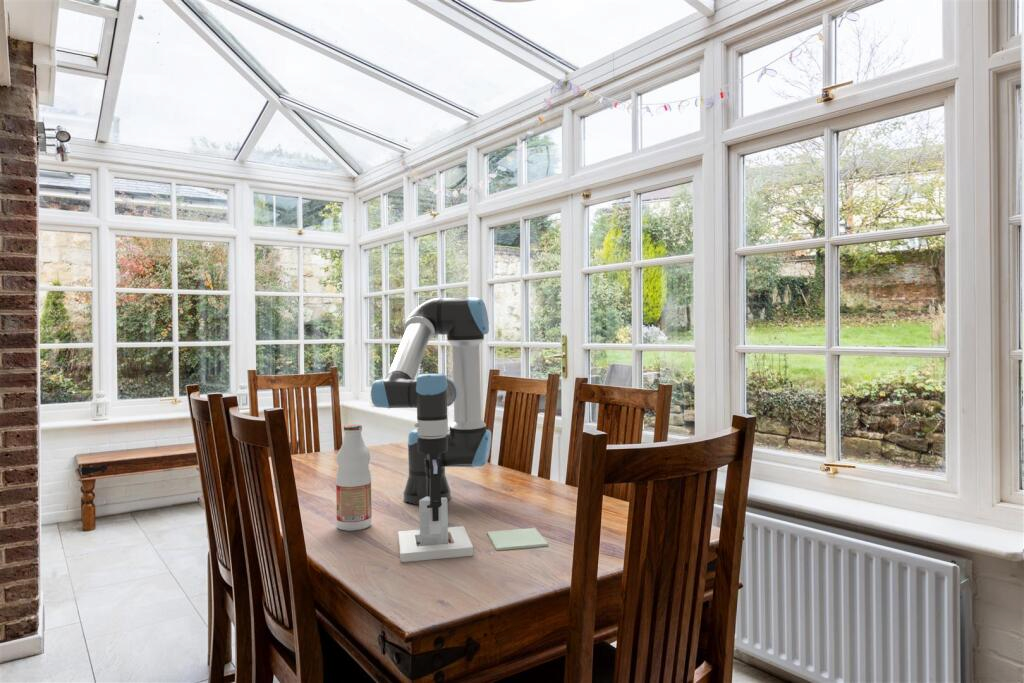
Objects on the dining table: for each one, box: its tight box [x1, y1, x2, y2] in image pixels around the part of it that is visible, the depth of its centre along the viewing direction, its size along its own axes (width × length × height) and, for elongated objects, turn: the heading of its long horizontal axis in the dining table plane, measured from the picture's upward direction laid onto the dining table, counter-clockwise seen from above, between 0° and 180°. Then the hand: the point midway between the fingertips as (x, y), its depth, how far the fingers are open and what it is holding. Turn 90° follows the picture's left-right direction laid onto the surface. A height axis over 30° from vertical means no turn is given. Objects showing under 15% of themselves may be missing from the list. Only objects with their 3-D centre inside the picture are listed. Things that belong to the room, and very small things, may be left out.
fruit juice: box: [335, 424, 373, 532], centre depth 170 cm, size 9×9×28 cm
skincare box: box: [418, 496, 449, 546], centre depth 152 cm, size 6×4×12 cm
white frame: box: [397, 525, 474, 563], centre depth 152 cm, size 17×17×2 cm
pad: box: [486, 527, 549, 551], centre depth 157 cm, size 13×13×1 cm
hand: (433, 528), depth 152 cm, fingers closed on skincare box, 6 cm apart
